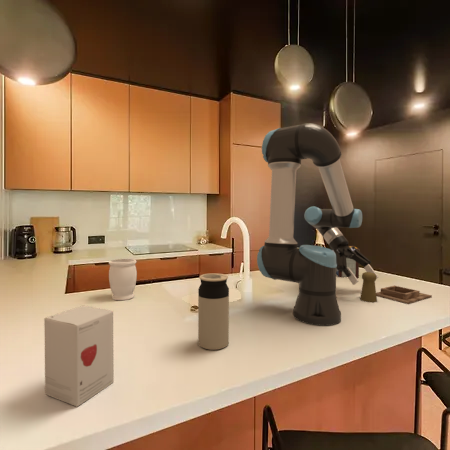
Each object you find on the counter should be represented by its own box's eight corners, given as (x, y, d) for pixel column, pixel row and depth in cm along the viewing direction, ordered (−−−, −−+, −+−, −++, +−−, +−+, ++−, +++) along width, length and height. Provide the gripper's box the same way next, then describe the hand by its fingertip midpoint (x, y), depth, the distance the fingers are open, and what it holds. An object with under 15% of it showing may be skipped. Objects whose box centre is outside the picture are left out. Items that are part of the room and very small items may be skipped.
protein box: (353, 272, 172) (354, 245, 171) (358, 278, 157) (359, 249, 156) (334, 271, 174) (334, 245, 174) (337, 277, 159) (338, 248, 159)
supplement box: (76, 408, 53) (75, 325, 52) (43, 395, 56) (42, 317, 56) (115, 382, 61) (114, 309, 60) (84, 372, 65) (83, 303, 64)
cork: (379, 302, 115) (379, 274, 114) (362, 301, 116) (362, 273, 116) (374, 298, 121) (375, 271, 120) (358, 297, 122) (359, 270, 122)
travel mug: (204, 353, 73) (204, 280, 73) (194, 340, 81) (194, 274, 80) (233, 347, 77) (234, 278, 76) (221, 335, 84) (221, 272, 83)
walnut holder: (408, 304, 113) (408, 296, 113) (373, 295, 125) (373, 288, 125) (431, 297, 123) (431, 290, 122) (397, 289, 135) (397, 282, 134)
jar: (115, 303, 113) (114, 263, 112) (105, 297, 120) (104, 260, 120) (141, 298, 120) (141, 260, 119) (130, 292, 127) (130, 257, 127)
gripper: (348, 244, 141) (377, 282, 129) (311, 247, 128) (340, 290, 116) (358, 233, 136) (390, 272, 125) (321, 236, 123) (353, 279, 111)
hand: (366, 280), depth 120 cm, fingers open, 13 cm apart
